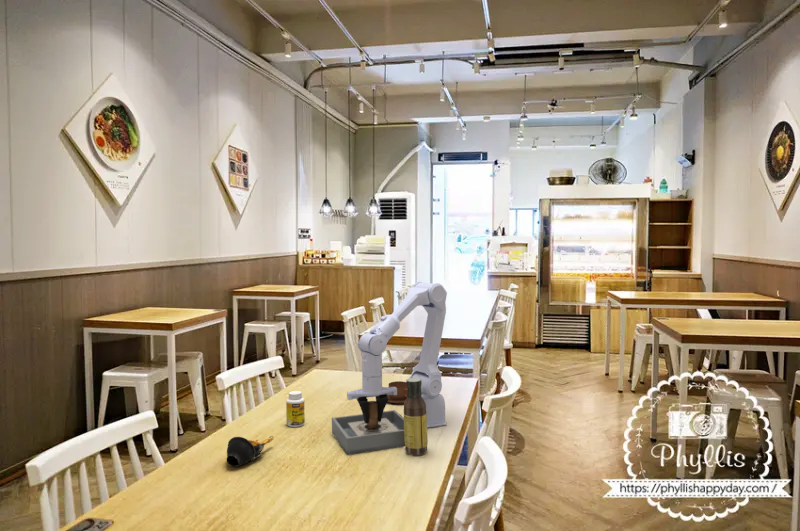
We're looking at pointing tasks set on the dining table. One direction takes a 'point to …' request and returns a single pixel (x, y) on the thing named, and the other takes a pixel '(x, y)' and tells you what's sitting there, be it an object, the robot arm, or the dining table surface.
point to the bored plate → (361, 429)
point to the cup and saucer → (398, 392)
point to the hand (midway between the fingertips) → (372, 421)
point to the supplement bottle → (295, 409)
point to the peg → (373, 415)
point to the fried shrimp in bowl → (244, 450)
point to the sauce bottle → (415, 419)
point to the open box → (371, 440)
